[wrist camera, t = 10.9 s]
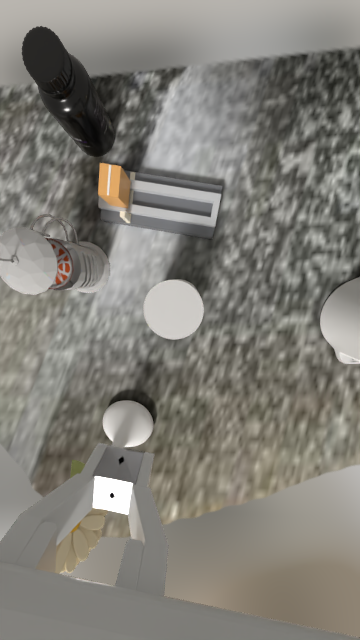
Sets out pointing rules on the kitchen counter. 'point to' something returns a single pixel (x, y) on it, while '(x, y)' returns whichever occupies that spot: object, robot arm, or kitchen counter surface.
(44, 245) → the french press
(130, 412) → the flower in vase
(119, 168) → the fader
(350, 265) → the kitchen counter surface
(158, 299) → the light grey cylinder
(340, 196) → the kitchen counter surface
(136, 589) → the robot arm
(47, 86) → the supplement bottle
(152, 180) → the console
